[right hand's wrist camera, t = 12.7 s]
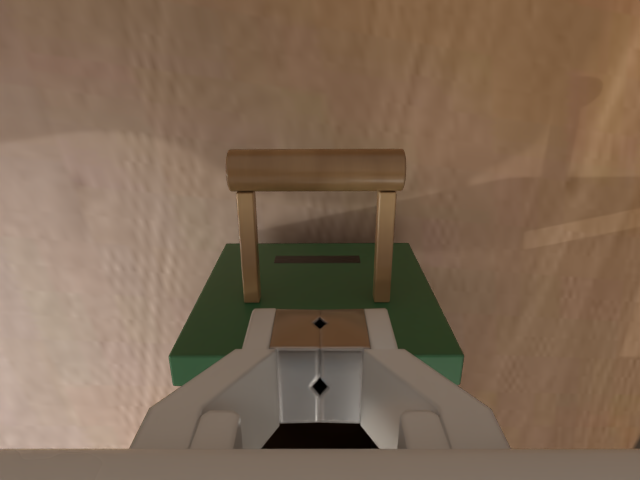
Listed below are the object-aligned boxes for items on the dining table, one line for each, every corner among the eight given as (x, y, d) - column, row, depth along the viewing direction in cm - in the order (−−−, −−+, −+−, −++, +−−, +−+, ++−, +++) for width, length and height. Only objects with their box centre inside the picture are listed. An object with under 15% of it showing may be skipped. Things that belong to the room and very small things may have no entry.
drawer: (215, 126, 21) (139, 174, 12) (417, 126, 21) (491, 173, 12) (248, 503, 30) (219, 689, 21) (388, 503, 30) (418, 688, 21)
